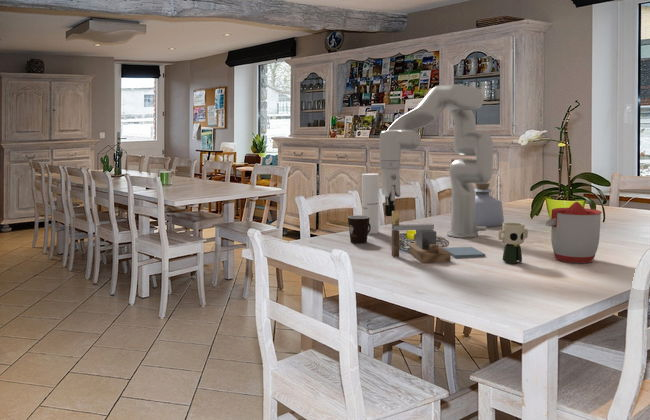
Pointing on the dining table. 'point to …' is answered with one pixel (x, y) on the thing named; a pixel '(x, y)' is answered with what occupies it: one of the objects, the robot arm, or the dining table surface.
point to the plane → (421, 251)
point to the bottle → (487, 207)
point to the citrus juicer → (575, 233)
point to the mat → (464, 252)
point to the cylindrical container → (371, 200)
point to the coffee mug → (358, 228)
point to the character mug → (512, 241)
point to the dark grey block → (425, 238)
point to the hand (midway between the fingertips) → (389, 215)
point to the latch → (407, 226)
